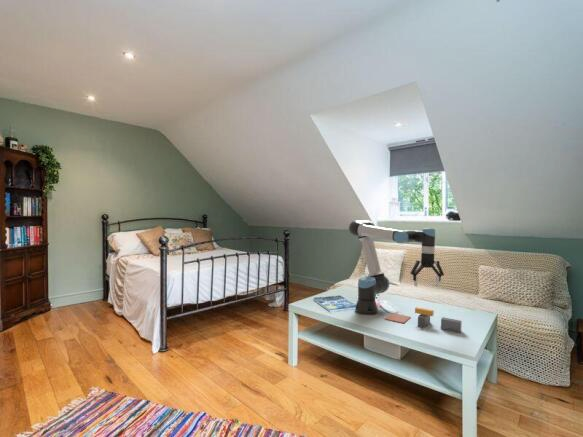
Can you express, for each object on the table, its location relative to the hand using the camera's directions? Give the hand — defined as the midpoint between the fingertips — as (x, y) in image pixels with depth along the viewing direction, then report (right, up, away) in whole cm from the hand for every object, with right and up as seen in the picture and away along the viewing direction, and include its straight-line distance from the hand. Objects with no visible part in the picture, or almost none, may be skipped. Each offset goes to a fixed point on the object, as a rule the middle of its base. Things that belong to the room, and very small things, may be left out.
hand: (426, 286), depth 193 cm
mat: (-17, -22, +4) cm, 28 cm away
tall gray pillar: (-4, -22, -6) cm, 23 cm away
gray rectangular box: (+8, -22, -15) cm, 28 cm away
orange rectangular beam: (-4, -16, -6) cm, 17 cm away
